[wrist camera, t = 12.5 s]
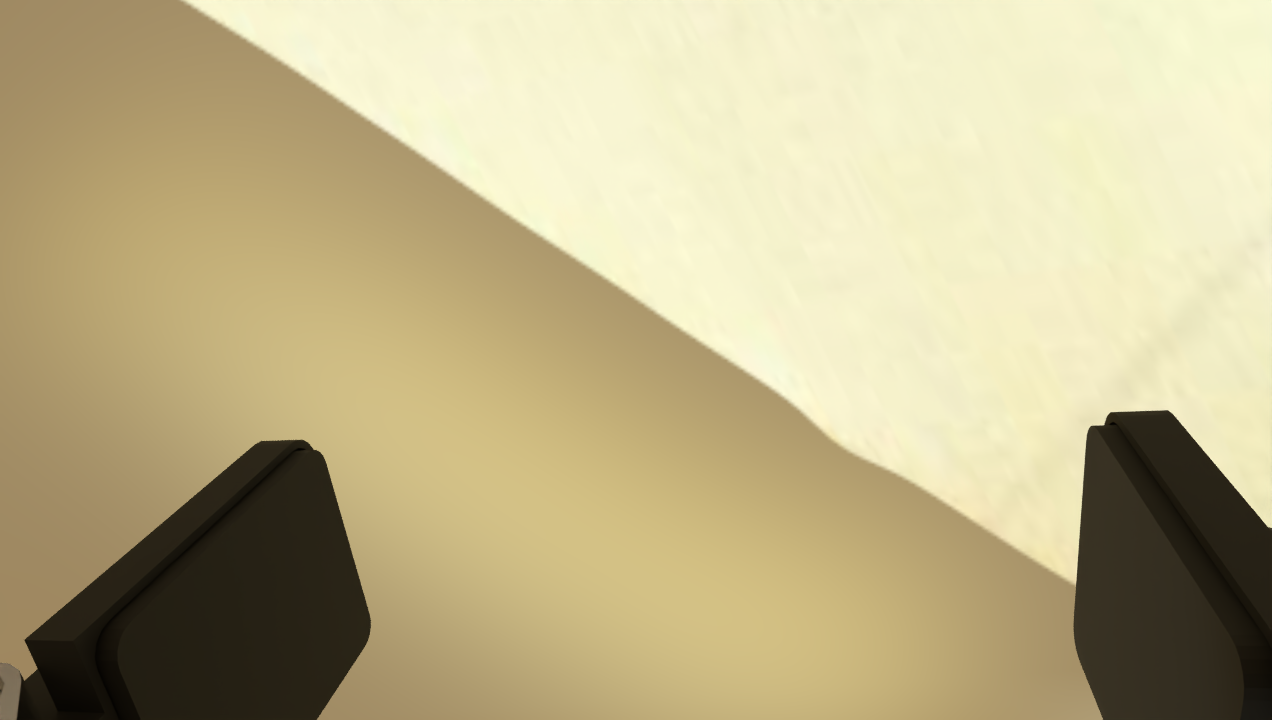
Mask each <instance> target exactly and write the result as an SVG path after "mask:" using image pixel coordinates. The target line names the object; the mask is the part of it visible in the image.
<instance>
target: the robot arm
mask: <svg viewBox="0 0 1272 720" xmlns="http://www.w3.org/2000/svg"><path fill="white" fill-rule="evenodd" d="M370 628H371V620H370V614H369V611H368V607H367V604H366V600H365V597H364V593H363V590H362V586H361V583H360V579H359V576H358V573H357V569H356V565H355V562H354V559H353V555H352V552H351V548H350V544H349V541H348V538H347V534H346V531H345V527H344V524H343V520H342V517H341V513H340V510H339V506H338V503H337V499H336V496H335V492H334V489H333V485H332V482H331V478H330V475H329V472H328V468H327V464H326V461H325V459H324V457H323V455H322V454H321V453H320V452H319V451H317V450H313V448H312V447H311V446H310V444H309V443H308V442H306V441H304V440H284V441H283V440H282V441H261V442H259V443H257V444H255V445H254V446H253V447H252V448H250V449H249V450H248V451H247V452H246V453H245V454H243V455H242V456H241V457H240V458H239V459H237V460H236V461H235V462H234V463H233V464H231V465H230V466H229V467H228V468H227V469H226V470H224V471H223V472H222V473H221V474H220V475H218V476H217V477H216V478H215V479H214V480H213V481H211V482H210V483H209V484H208V485H207V486H206V487H204V488H203V489H202V490H201V491H200V492H198V493H197V494H196V495H195V496H194V497H193V498H191V499H190V500H189V501H188V502H187V503H185V504H184V505H183V506H182V507H181V508H180V509H178V510H177V511H176V512H175V513H174V514H172V515H171V516H170V517H169V518H168V519H167V520H165V521H164V522H163V523H162V524H161V525H159V526H158V527H157V528H156V529H155V530H154V531H153V532H151V533H150V534H149V535H148V536H147V537H145V538H144V539H143V540H142V541H141V542H140V543H138V544H137V545H136V546H135V547H134V548H132V549H131V550H130V551H129V552H128V553H127V554H125V555H124V556H123V557H122V558H121V559H119V560H118V561H117V562H116V563H115V564H113V565H112V566H111V567H110V568H109V569H108V570H106V571H105V572H104V573H103V574H102V575H101V576H99V577H98V578H97V579H96V580H95V581H93V582H92V583H91V584H90V585H89V586H87V588H85V589H84V590H83V591H82V592H80V593H79V594H78V595H77V596H76V597H74V598H73V599H72V600H71V601H70V602H69V603H68V604H66V605H65V606H64V607H63V608H62V609H60V610H59V611H58V612H57V613H56V614H54V615H53V616H52V617H51V618H50V619H49V620H48V621H46V622H45V623H44V624H43V625H41V626H40V627H39V628H38V629H37V630H36V631H34V632H33V633H32V634H31V635H30V636H29V637H27V638H26V639H25V642H26V644H27V646H28V649H29V651H30V653H31V655H32V657H33V659H34V662H35V664H36V666H37V668H38V669H37V670H36V671H35V672H34V673H33V674H32V675H31V676H29V677H28V678H27V679H26V680H25V681H24V680H23V677H22V675H21V673H20V671H19V670H18V669H17V668H15V667H14V666H12V665H11V664H8V663H0V720H317V718H318V717H319V715H320V714H321V712H322V710H323V709H324V708H325V706H326V705H327V703H328V702H329V700H330V699H331V697H332V696H333V694H334V693H335V691H336V690H337V688H338V687H339V685H340V684H341V682H342V681H343V679H344V677H345V676H346V674H347V673H348V671H349V670H350V668H351V666H352V665H353V663H354V662H355V661H356V659H357V657H358V656H359V655H360V653H361V652H362V650H363V649H364V647H365V645H366V643H367V641H368V638H369V635H370ZM1074 639H1075V645H1076V650H1077V654H1078V657H1079V660H1080V663H1081V665H1082V668H1083V670H1084V673H1085V675H1086V678H1087V680H1088V683H1089V685H1090V688H1091V690H1092V693H1093V695H1094V698H1095V700H1096V702H1097V705H1098V707H1099V710H1100V712H1101V715H1102V717H1103V720H1272V528H1268V527H1267V526H1266V524H1265V523H1264V522H1263V521H1262V520H1261V518H1260V517H1259V516H1258V515H1257V514H1256V512H1255V511H1254V510H1253V509H1252V508H1251V507H1250V505H1249V504H1248V503H1247V502H1246V501H1245V499H1244V498H1243V497H1242V496H1241V495H1240V493H1239V492H1238V491H1237V490H1236V489H1235V488H1234V486H1233V485H1232V484H1231V483H1230V482H1229V480H1228V479H1227V478H1226V477H1225V476H1224V474H1223V473H1222V472H1221V471H1220V470H1219V469H1218V467H1217V466H1216V465H1215V464H1214V463H1213V461H1212V460H1211V459H1210V458H1209V457H1208V455H1207V454H1206V453H1205V452H1204V451H1203V450H1202V448H1201V447H1200V446H1199V445H1198V444H1197V442H1196V441H1195V440H1194V439H1193V438H1192V436H1191V435H1190V434H1189V433H1188V432H1187V431H1186V429H1185V428H1184V427H1183V426H1182V425H1181V423H1180V422H1179V421H1178V420H1177V419H1176V417H1175V416H1174V415H1173V414H1172V413H1171V412H1169V411H1168V410H1165V411H1136V412H1110V413H1109V415H1108V416H1107V418H1106V421H1105V425H1103V426H1091V427H1090V428H1089V430H1088V433H1087V440H1086V453H1085V467H1084V481H1083V496H1082V510H1081V524H1080V539H1079V553H1078V567H1077V582H1076V596H1075V610H1074Z"/></svg>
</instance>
